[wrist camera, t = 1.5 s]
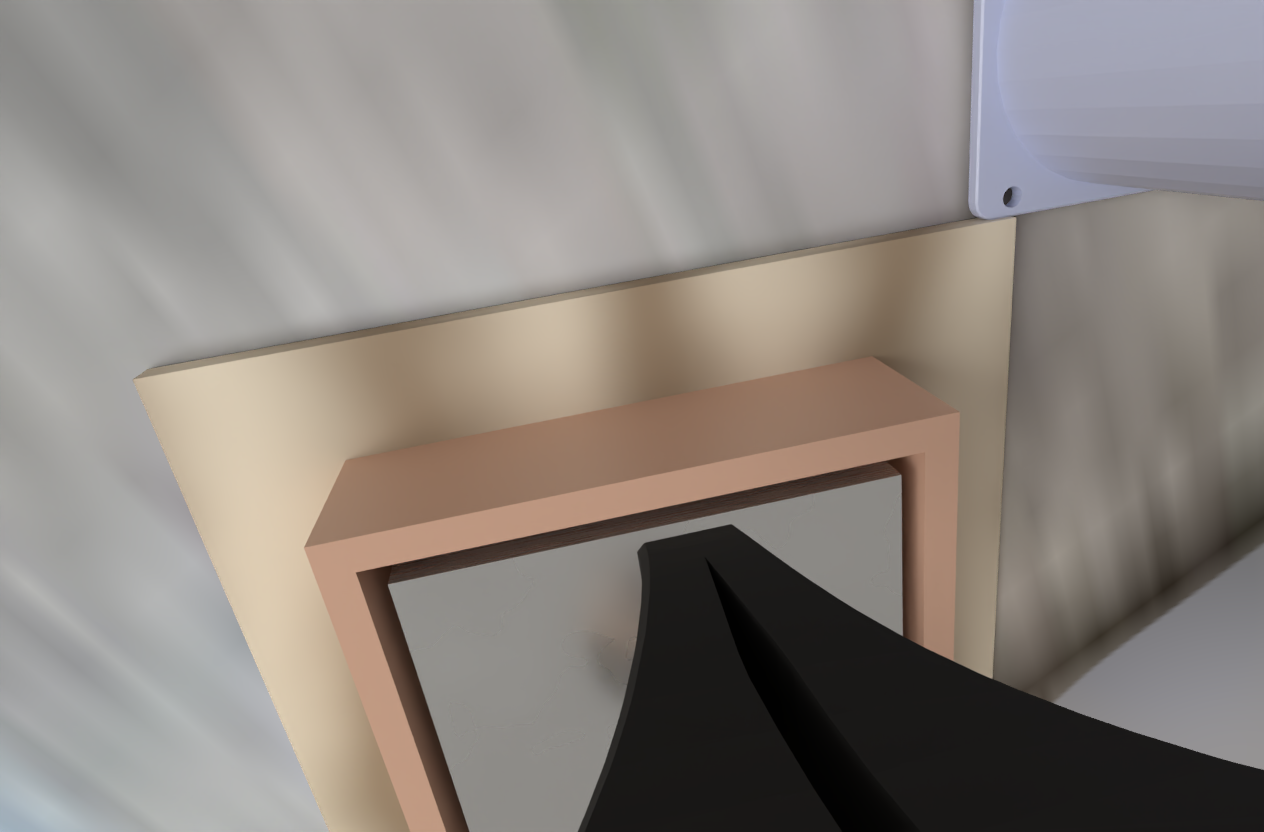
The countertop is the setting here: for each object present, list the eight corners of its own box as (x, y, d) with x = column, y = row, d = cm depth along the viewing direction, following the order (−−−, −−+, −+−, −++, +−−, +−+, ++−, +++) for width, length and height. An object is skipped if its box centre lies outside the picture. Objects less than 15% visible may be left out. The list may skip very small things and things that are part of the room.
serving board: (997, 214, 20) (1016, 217, 19) (974, 760, 28) (987, 778, 27) (147, 369, 18) (132, 379, 17) (378, 911, 26) (374, 934, 25)
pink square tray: (872, 356, 20) (960, 411, 16) (881, 742, 25) (948, 853, 21) (345, 460, 19) (303, 547, 15) (472, 843, 24) (466, 980, 20)
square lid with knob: (884, 459, 17) (1037, 595, 12) (890, 806, 22) (1004, 1009, 17) (393, 563, 16) (342, 756, 11) (503, 905, 21) (502, 1152, 16)
